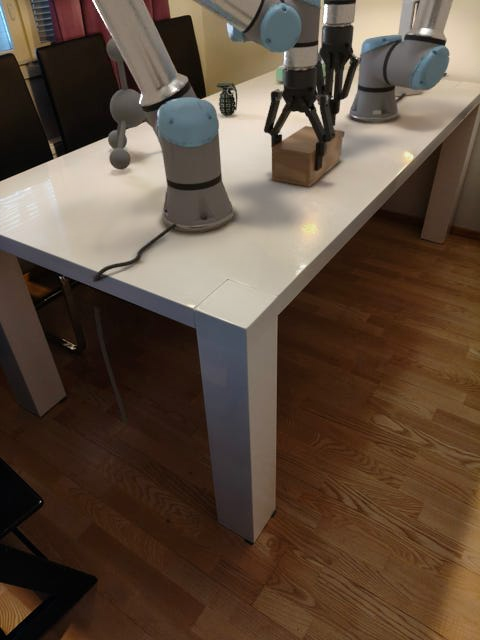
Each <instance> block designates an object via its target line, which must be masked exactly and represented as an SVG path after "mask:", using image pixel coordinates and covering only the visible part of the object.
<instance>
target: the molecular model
mask: <svg viewBox="0 0 480 640" xmlns="http://www.w3.org/2000/svg"><path fill="white" fill-rule="evenodd" d="M106 53H107V55H108V57H109V58H110V60H111V61H114V62H116V63H117V69H118V74H119V75H118V76H119V80H120V85H121V89H119V90H117V91H116V92H115V93H114V94H113V95H112V97H111V99H110V102H109V110H110V115H111V116H112V119H113V120H114V121H115V122H116V123H117V129H114V130H112V131H110V132H109V133H108V137H107V143H108V145H109V146H110V147H111V148H112V150H111V151H110V153H109V157H108V158H109V163H110V165H111V166H112V167H113V168H114V169H116V170H121V171H122V170H125V169H127V168H128V167H129V166H130V164H131V155H130V153H129V152H128V151H127V150H126V149H125V147H126V146H127V144H128V137H127V136H126V132H127V129H133V128H137V127H139V126H140V125H141V124H142V123H144V122H146V123H147V124H148V125H149V126H150V127H151V128H152V126H151V124H150V122H149V121H148V119H147V117H146V115H145V113H144V111H143V109H142V107H141V106H140V104H139V101H140V96H141V93H139V92H138V91H136V90H134V89H132V88H128V83H127V76H126V71H125V65H124V62H125V61H124V59H123V57H122V55H121V53H120V51H119V49H118V47H117V45H116V44H115V42H114V40H113V38H112V37H111V39H109V40H108V42H107V43H106Z"/></svg>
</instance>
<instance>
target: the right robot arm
mask: <svg viewBox="0 0 480 640" xmlns="http://www.w3.org/2000/svg"><path fill="white" fill-rule="evenodd" d="M453 2H454V0H420V3H419V6H418V10H417V13H416V12H415V15H416V17H415V16H414V20H413V24H412V29H411V30H409V31H408V32H407V33H406V34H405V37H404V40H403V42H402V36H401V35H398V34H388V35H380V36H374V37H370V38H366V39H365V40H363V42H362V44H361V49H360V54H359V57H358V56H356V55H355V54H354V49H353V38H354V28H355V27H354V26H353V23H354V22H355V15H356V5H357V0H323V5H322V7H323V8H322V20H321V21H322V24H324V25H323V26H322V27H321V37H320V38H321V40H320V42H321V45H320V48H319V49H318V63H317V65H316V66H315V67H316V68H317V86H316V90H317V93H318V94H321V95H325V94H329V96H330V99H329V108H330V112H331V117H332V122H333V127H335V126H336V120H337V119H336V118H337V115H338V114H339V113H340V112H341V111H340V108H341V101H343V100H345V99H347V98H348V96H349V94H350V92H351V91H350V90H351V88H352V84H353V81H354V78H355V74H356V71H357V69H358V78H357V79H358V80H357V90H356V94H355V96H354V98H353V101H352V104H351V106H350V108H349V115H348V117H349V118H350V119H352V120H354V121H356V122H360V123H370V124H376V123H378V124H379V123H380V124H381V123H388V122H391V121H394V120H396V119H397V118H398V112H399V111H398V104H397V103H398V102H399V101H400V100H401V99H403V98H404V97H405V96H407V95H406V94H405V93H404V94H403V95H401V96H398V98H397V97H395V86H399V87H405V88H410V89H413V90H422V91H428V90H432V89H433V88H434V87H435V86H436V85H437V84H439V82H440V81H441V80H442V79H443V77H444V76H446V75H448V73H447V72H446V71H447V69H448V67H449V63H450V49H449V48H448V47H447V46H446V44H447V42H448V41H447V37H446V36H445V33H444V32H445V29H446V25H447V22H448V19H449V15H450V13H451V12H450V11H451V9H452V5H453ZM321 58H322V59H323V61H324V63H325V72H326V76H325V77H324V76H323V69H322V63H321V61H322V59H321ZM348 62H349V66H348V68H347V72H346V75H345V79H344V71H345V67H346V64H347V63H348ZM358 67H359V68H358Z"/></svg>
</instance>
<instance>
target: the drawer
mask: <svg viewBox="0 0 480 640" xmlns="http://www.w3.org/2000/svg"><path fill="white" fill-rule="evenodd" d="M341 131H342V136H341V149H340V157H341V156H342V148H343V138H344V137H345V131H343V130H341Z"/></svg>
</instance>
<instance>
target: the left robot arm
mask: <svg viewBox="0 0 480 640" xmlns="http://www.w3.org/2000/svg"><path fill="white" fill-rule="evenodd" d="M192 1H193V2H195V3H196V4H198V5H199V6H200V7H203V8H204V9H206V11H209V12H210V13H212V14H214V16H217V18H219V19H220V20H223V21H224V22H225V23H226V29H227V34H228V37H229V39H230V40H231V41H232V42H233V43H246V42H254V43H256V44H258V45H259V46H261V47H263V48H265V49H266V50H268V51H269V52H270V53H278V54H279V53H280V54H282V56H283V57H282V58H283V59H282V62H283V65H284V66H285V68H284V70H283V81H282V84H283V89H282V90H280V89H279V88H276V89H274V90H273V91H271V92H270V105H269V109H268V112H267V116H266V119H265V124H264V127H263V133H265V134H268V135H270V140H271V141H270V144H271V145H270V147H271V148H272V147H273V146H275V145H276V144H278V143H279V142H281V141H283V134H281V130H282V129H283V127H284V125H285V123H286V122H287V120H288V118H289V116H290V114H291V113H292V112H294V113H296V112H298V113H301V114H304V115H305V117H307V118H308V122H309V123H310V125H311V127H313V130H314V132H315V134H316V136H317V138H318V140H319V142H317V143H316V151H315V171H318V170H319V169H321V168H322V160H323V156H325V155H326V150H327V142H330V141H331V140H333V139H334V138H335V131H334V130H335V126H333V122H332V117H331V112H330V108H329V99H330V96H329V94H325V95H321V94H318V93H317V68H316V67H315V66H316V65H317V63H318V53H319V36H320V23H321V22H320V21H321V20H320V19H321V10H322V5H321V3H322V2H321V1H322V0H192ZM92 2H93V4H94V6H95V9H97V13H99V15H100V17H101V19H102V21H103V23H104V25H105V27H106V29H107V30H108V32H109V33H110V36H111V39H112V38H113V40H114V42H115V44H116V45H117V47H118V49H119V51H120V53H121V55H122V57H123V59H124V61H123V62H125V64H126V66H127V68H128V70H129V72H130V74H131V77H133V79H134V81H135V83H136V85H137V87H138V89H139V90H140V95H141V96H140V101H139V104H140V106H141V107H142V109H143V111H144V113H145V115H146V117H147V119H148V121H149V122H150V124H151V126H152V127H151V126H150V127H151V128H152V130H153V132H154V134H155V135H156V138H157V140H158V143H159V146H160V148H161V153H162V159H163V168H164V173H165V180H166V190H165V191H166V192H165V196H164V203H163V207H162V218H163V222H164V224H165V226H167V228H166V229H165V230H163V231H162V232H160V233H159V234H158V235H156V236H155V237H154V238H153V239H151V240H149V242H147V243H146V244H144V245H143V246H142V247H141V248H140V249H138V251H137V253H136V256H135V257H134V258H133V259H130V260H127V261H123V262H118V263H113V264H109V265H107V266H103V268H101V269H100V270H99V271H98V272H97V273H96V274H95V276H94V278H93V279H92V282H93V283H96V282H97V281H98V280H99V279H100V277H102V275H103V274H105V273H106V272H107V271H110V270H112V269H117V268H123V267H127V266H131V265H133V264H135V263H137V262H138V261H140V259H141V256H142V254H143V253H144V252H145V251H146V250H147V249H148V248H150V247H151V246H152V245H154V244H155V243H156V242H158V241H159V240H160V239H162V238H163V237H164V236H165V235H167V234H168V233H169V232H171V231H172V230H173V231H177V232H180V233H190V234H191V233H192V234H193V233H194V234H195V233H196V234H197V233H205V232H206V233H207V232H210V231H215V230H216V229H220V228H222V227H224V226H226V225H227V224H228V223H230V221H231V220H232V218H233V216H234V212H233V211H234V210H233V205H232V201H231V200H230V197H229V195H228V192H227V190H226V187H225V184H224V182H223V175H222V174H223V173H222V161H221V147H220V146H221V145H220V133H219V131H220V130H219V129H220V122H219V118H218V114H217V109H216V108H215V105H213V104H212V103H211V102H210V101H208V100H207V99H206V100H205V99H201V98H199V97H197V95H196V93H195V91H194V89H193V87H192V84H191V83H190V80H189V78H188V76H186V75H184V74H181V73H178V71H177V69H176V67H175V65H174V63H173V61H172V59H171V56H170V55H169V52H168V50H167V48H166V45H165V44H164V41H163V39H162V38H161V35H160V33H159V31H158V28H157V27H156V25H155V22H154V21H153V18H152V16H151V14H150V12H149V10H148V7H147V6H146V3H145V1H144V0H92ZM282 99H283V101H284V102H285V105H284V106H283V108H282V110H281V113H280V115H279V117H278V118H277V115H278V111H279V107H280V105H281V100H282ZM316 101H317V105H318V106H319V112H320V116H321V117H319V115H318V111H317V107H316V105H315V102H316ZM276 118H277V120H276ZM93 309H94V316H95V317H94V318H95V323H96V329H97V335H98V339H99V344H100V348H101V352H102V357H103V360H104V363H105V366H106V371H107V372H108V376H109V379H110V382H111V385H112V388H113V391H114V394H115V398H116V400H117V404H118V407H119V410H120V413H121V416H122V421H123V424H124V426H128V424H129V423H128V419H127V416H126V412H125V407H124V405H123V402H122V397H121V395H120V392H119V389H118V385H117V382H116V379H115V376H114V374H113V370H112V367H111V364H110V360H109V356H108V352H107V350H106V345H105V339H104V335H103V330H102V329H103V328H102V322H101V317H100V316H101V315H100V308H99V307H97V306H94V307H93Z"/></svg>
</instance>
